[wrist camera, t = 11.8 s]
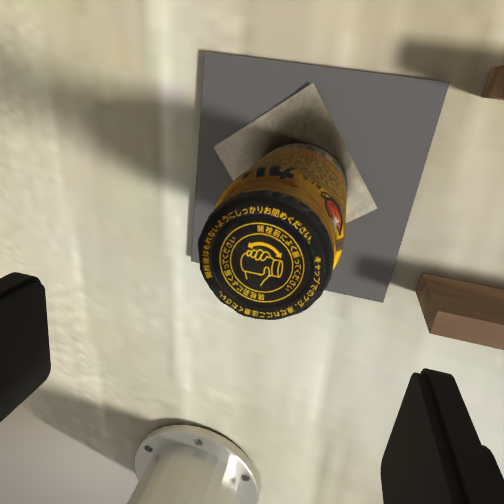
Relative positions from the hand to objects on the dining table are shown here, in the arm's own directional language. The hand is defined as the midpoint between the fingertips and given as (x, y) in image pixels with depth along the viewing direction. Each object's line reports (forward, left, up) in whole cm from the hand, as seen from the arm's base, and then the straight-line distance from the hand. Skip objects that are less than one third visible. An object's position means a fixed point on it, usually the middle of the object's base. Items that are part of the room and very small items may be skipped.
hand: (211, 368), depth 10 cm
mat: (+1, 0, -18) cm, 18 cm away
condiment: (+1, 0, -18) cm, 18 cm away
